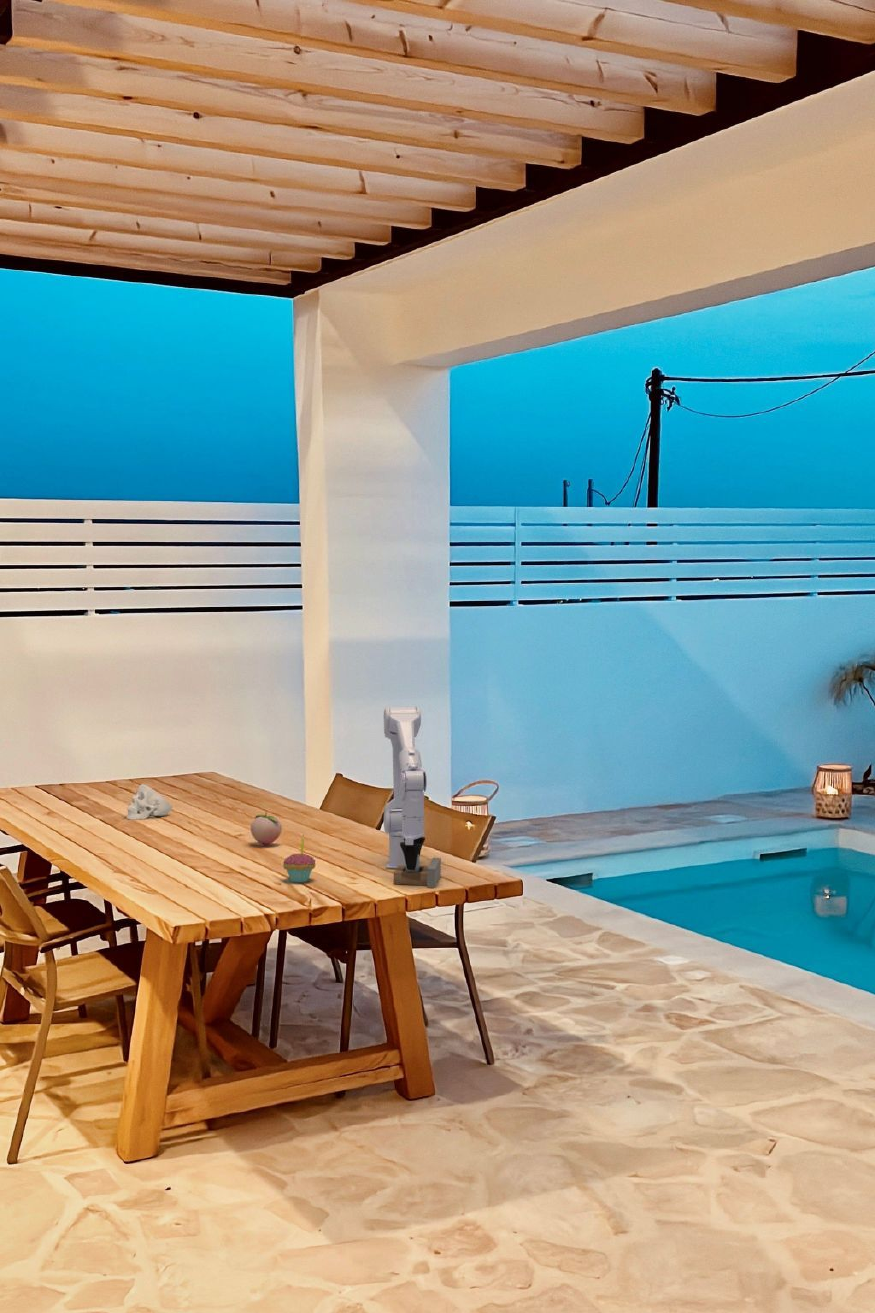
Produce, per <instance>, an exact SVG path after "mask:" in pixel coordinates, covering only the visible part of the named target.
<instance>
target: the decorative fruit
mask: <svg viewBox="0 0 875 1313" xmlns="http://www.w3.org/2000/svg"><path fill="white" fill-rule="evenodd" d="M282 830H283V829H282V824H281V822H280V820H278V819H277V818H276V817H275V816H273V815H268V816H267V812H265V814H257V815H255V817H254V820H253V821H252V822H251V825H250V832H251V835H252V838H253V839H254V840H255V841H256V842H258V843H260V844H262V845H264V846H268V845H271V844H272V843H273V842H275V841H276V840H277V839H278V838H279V837H280V836H281V834H282Z"/></svg>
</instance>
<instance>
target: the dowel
mask: <svg viewBox="0 0 875 1313" xmlns="http://www.w3.org/2000/svg"><path fill="white" fill-rule="evenodd" d="M419 866H420V858H419V854H418V857H417V863H416V868H415V870H407V867H406V871H414V872H419Z"/></svg>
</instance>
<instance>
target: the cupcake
mask: <svg viewBox="0 0 875 1313" xmlns="http://www.w3.org/2000/svg"><path fill="white" fill-rule="evenodd" d="M304 836H305V834H302V837H301V844H300V853H293V854H291V855H289V856H287V857H286V858H285V859H284V861H283V864H282V865H283V866H282V868H283V869H284V870H286V872H287V874H288V878H289V881H290V882H291V883H297V884H300V883H306V882H307V883H308V882H309V880H310V879H309V878H310V875H311V873H312V871H313V870H314V869H315V867H316V859H314V857H312V856H311V855H309V854H306V853H304V846H305V837H304Z"/></svg>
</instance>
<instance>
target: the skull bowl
mask: <svg viewBox="0 0 875 1313" xmlns="http://www.w3.org/2000/svg"><path fill="white" fill-rule="evenodd" d="M172 809H174V808H173V805H171V802H169V801H168V800H167V799H166V798H165V797H163V796H162V795H161V794H160V793H158V792H157V791H156V790H154V788H152V787H150V786H148V785H147V784H145V783H144V784H143V783H141V784H140V785H139V787H138V788H137V790H136V791H135V795H133V796H131V802H130V805H128V807H126V810H127V816H126V820H131V821H139V820H146V819H147V818H148V817H149V816H150V815H151V816H154V817H164V816H167V815H168V814H169V813H170V812H171V811H172Z"/></svg>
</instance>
